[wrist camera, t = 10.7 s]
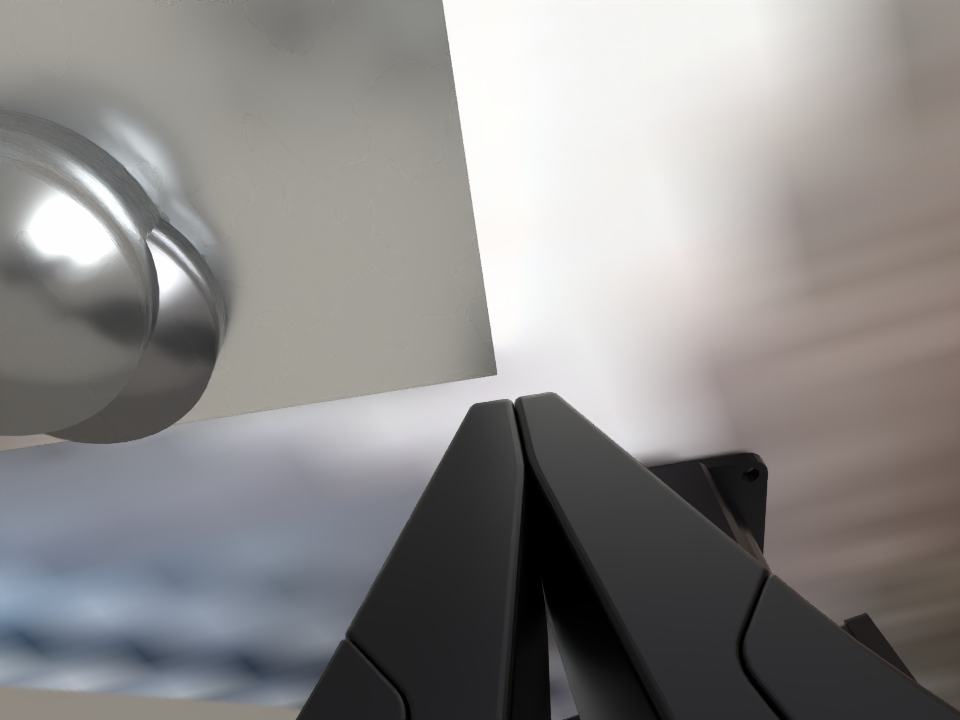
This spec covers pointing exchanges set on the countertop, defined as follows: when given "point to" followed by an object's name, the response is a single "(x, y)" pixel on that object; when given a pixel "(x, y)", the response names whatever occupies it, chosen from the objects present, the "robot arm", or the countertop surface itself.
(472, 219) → the level stand
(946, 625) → the countertop surface
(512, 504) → the robot arm
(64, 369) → the capstan
